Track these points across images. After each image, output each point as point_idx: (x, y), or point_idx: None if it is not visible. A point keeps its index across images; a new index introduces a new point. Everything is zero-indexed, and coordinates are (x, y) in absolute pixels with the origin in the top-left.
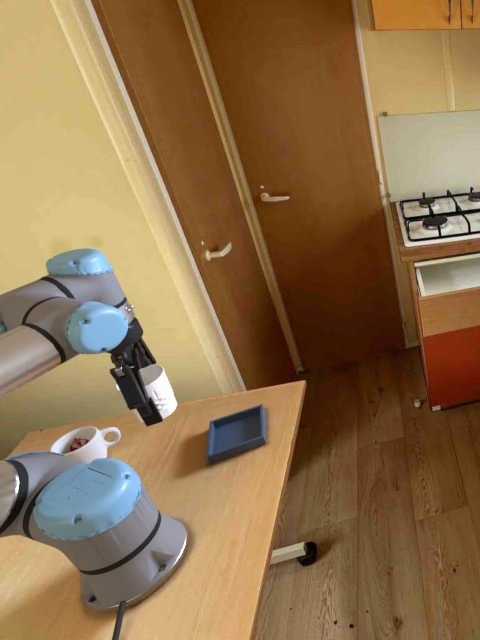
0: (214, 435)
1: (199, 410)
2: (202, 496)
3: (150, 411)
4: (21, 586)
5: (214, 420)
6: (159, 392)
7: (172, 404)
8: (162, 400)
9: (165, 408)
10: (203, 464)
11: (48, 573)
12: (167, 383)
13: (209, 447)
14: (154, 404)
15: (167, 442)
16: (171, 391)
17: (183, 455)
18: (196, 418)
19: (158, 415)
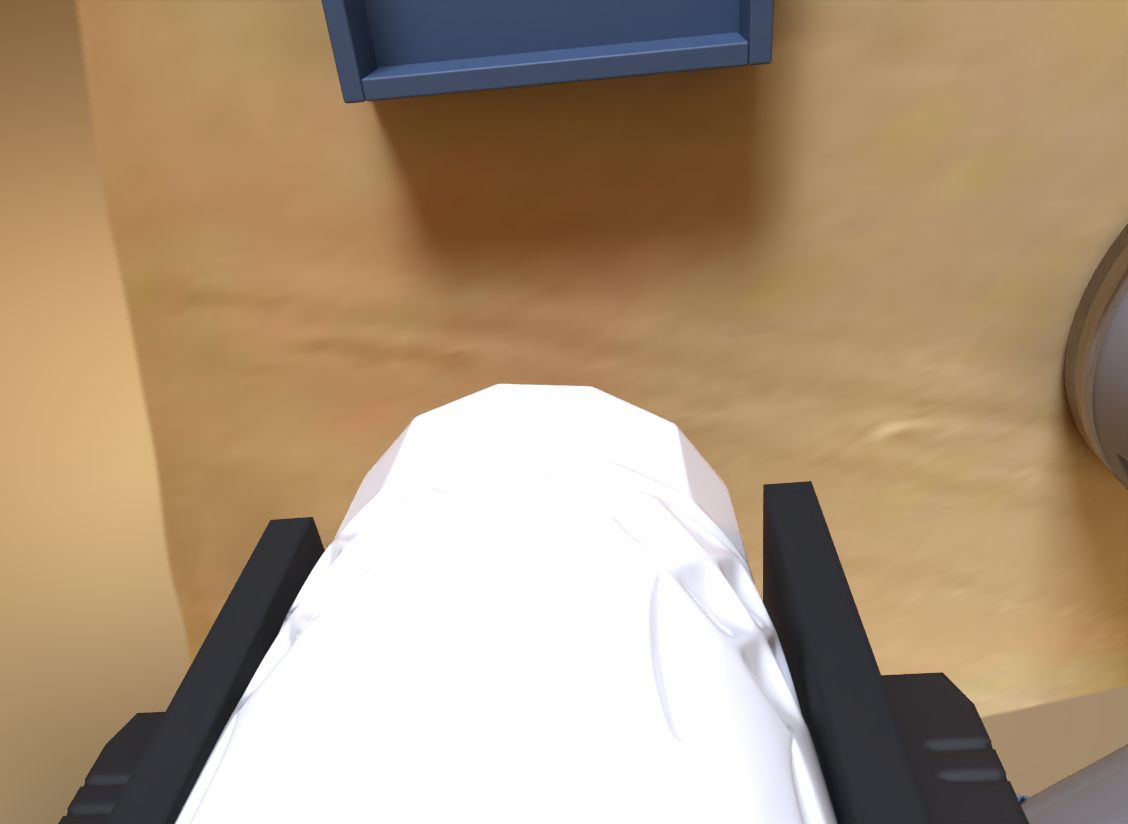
0: (470, 57)
1: (145, 223)
2: (1045, 51)
3: (962, 728)
4: (1018, 686)
5: (347, 64)
6: (764, 799)
7: (610, 446)
8: (727, 628)
9: (704, 516)
10: (729, 97)
11: (1023, 631)
12: (487, 727)
13: (666, 53)
14: (860, 728)
15: (414, 363)
16: (512, 548)
17: (574, 249)
18: (228, 229)
19: (838, 568)
